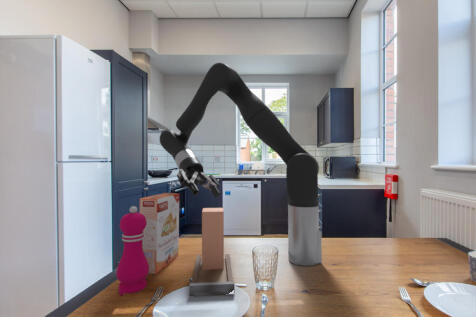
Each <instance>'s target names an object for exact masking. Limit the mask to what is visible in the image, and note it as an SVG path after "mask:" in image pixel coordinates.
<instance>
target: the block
mask: <svg viewBox="0 0 476 317" xmlns="http://www.w3.org/2000/svg"><path fill="white" fill-rule="evenodd" d="M224 215H225V214H224V207H203V208H202V211H201V259H202V270H210V269H224V258H225V256H224V255H225V252H224V250H225V249H224V248H225V247H224V243H225V242H224V239H225V238H224V237H225V236H224V235H225V234H224V232H225V231H224V228H225V227H224V226H225V224H224V220H225V219H224V217H225V216H224Z"/></svg>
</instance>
